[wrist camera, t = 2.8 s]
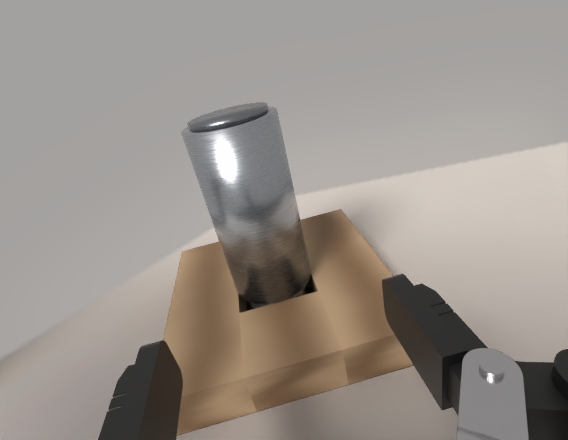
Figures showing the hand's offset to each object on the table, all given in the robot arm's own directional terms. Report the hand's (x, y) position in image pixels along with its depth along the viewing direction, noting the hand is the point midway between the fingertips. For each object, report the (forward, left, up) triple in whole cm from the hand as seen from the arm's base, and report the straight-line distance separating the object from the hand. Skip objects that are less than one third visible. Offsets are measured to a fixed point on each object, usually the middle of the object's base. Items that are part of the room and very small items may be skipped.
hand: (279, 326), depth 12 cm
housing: (0, +12, -9) cm, 15 cm away
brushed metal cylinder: (0, +12, -9) cm, 15 cm away
